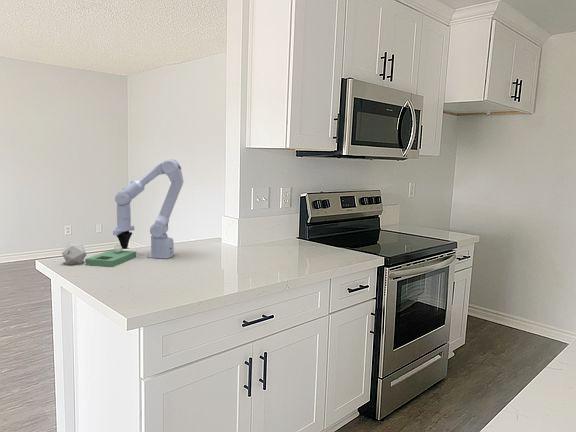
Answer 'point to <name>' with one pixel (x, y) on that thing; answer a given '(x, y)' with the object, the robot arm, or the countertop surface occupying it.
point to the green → (110, 258)
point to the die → (74, 253)
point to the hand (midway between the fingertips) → (124, 248)
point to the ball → (118, 248)
